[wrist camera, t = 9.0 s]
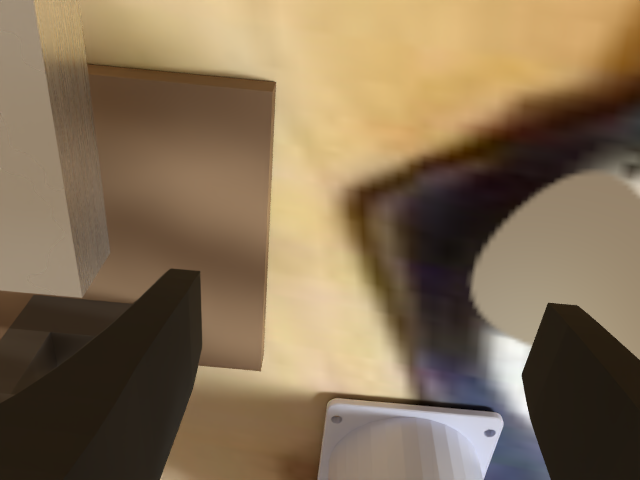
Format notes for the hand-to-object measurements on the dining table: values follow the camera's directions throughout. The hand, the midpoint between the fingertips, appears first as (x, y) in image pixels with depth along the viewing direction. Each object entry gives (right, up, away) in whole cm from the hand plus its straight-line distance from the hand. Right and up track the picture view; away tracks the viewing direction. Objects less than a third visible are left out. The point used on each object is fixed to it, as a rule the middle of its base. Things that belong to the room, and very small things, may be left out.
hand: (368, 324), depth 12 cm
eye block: (-9, +2, +11) cm, 14 cm away
